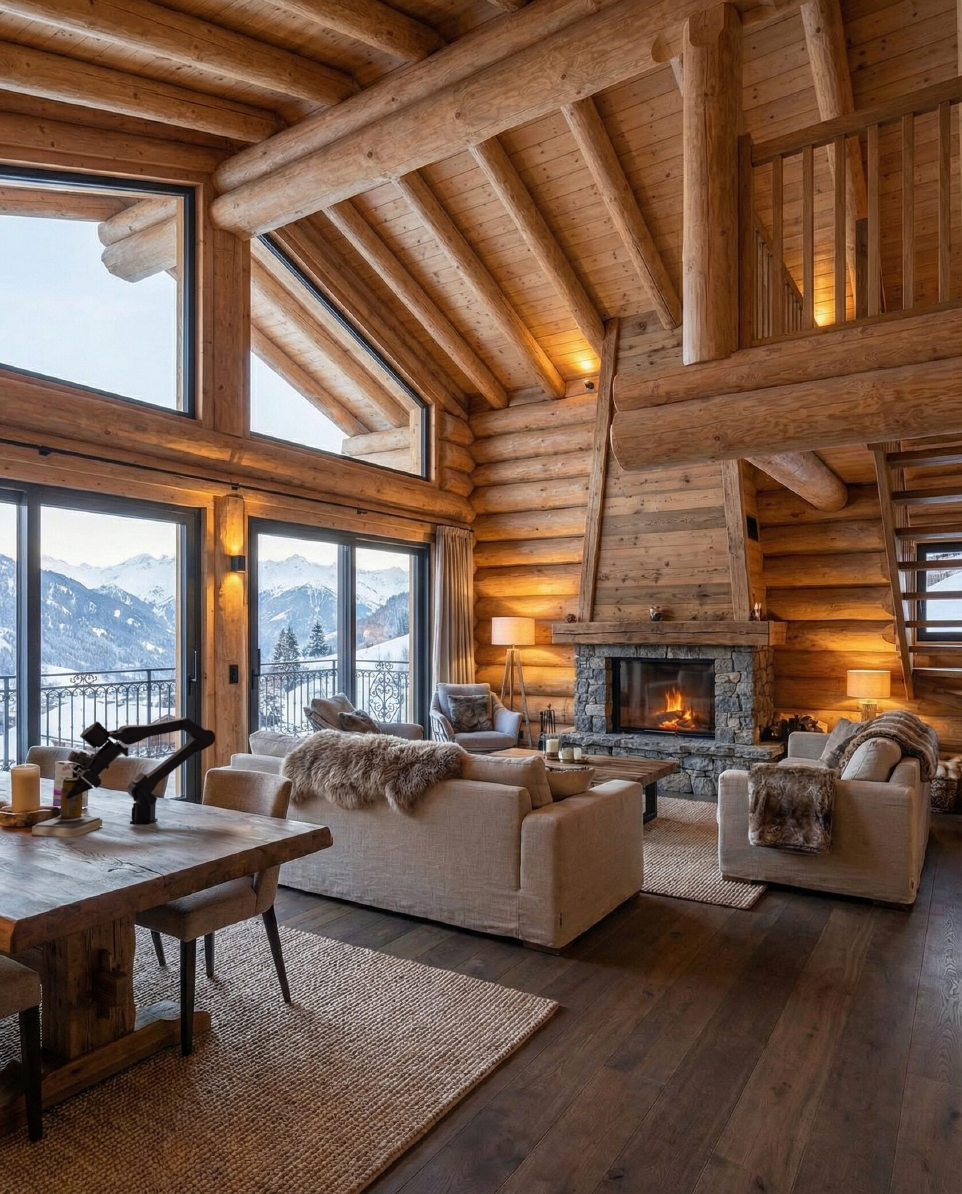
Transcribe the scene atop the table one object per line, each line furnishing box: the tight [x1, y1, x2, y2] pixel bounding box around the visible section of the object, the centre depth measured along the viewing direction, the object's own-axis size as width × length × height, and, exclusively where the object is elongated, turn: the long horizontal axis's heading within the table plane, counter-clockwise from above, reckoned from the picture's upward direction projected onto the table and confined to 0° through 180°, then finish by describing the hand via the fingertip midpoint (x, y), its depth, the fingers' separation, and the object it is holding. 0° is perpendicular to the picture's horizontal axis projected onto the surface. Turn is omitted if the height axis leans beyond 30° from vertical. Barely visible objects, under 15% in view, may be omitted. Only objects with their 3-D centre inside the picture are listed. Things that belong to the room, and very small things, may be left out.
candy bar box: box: [52, 760, 89, 807], centre depth 287 cm, size 11×5×16 cm, turn 73°
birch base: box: [31, 816, 103, 838], centre depth 255 cm, size 14×14×3 cm
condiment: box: [52, 777, 87, 821], centre depth 255 cm, size 7×8×12 cm
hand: (64, 796), depth 255 cm, fingers closed on condiment, 6 cm apart
